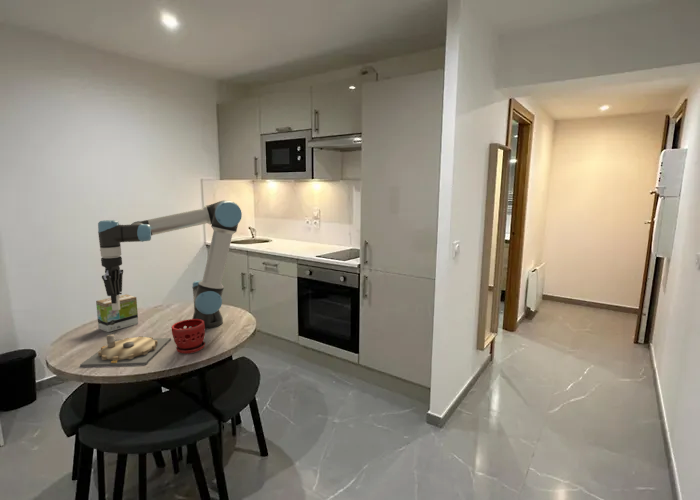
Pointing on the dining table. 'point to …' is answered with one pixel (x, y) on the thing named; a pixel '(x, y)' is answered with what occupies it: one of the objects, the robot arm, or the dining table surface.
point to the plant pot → (189, 335)
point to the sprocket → (126, 347)
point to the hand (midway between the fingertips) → (116, 309)
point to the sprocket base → (138, 360)
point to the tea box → (117, 313)
